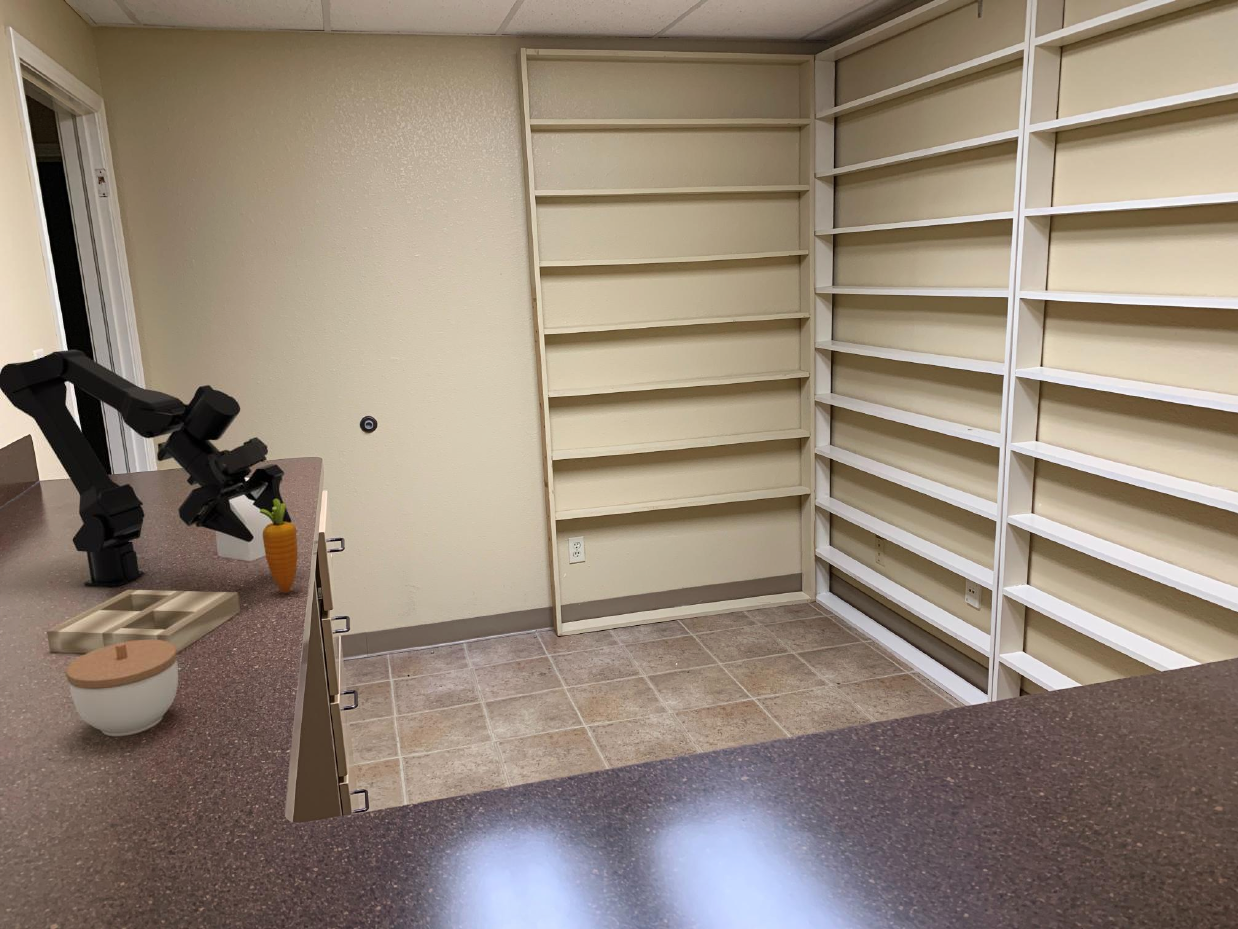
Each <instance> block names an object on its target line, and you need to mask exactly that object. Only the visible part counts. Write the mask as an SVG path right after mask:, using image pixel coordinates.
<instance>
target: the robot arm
mask: <svg viewBox="0 0 1238 929" xmlns="http://www.w3.org/2000/svg"><path fill="white" fill-rule="evenodd" d="M67 382H68V383H70V384H71V385H73V386H75V387H77V388H79V389H80V390H82V391H84V392H85V393H87V394H88V395H90V396H92V397H94V398H95V399H97V400H99V401H101V402H102V403H104V404H106V405H107V406H109V407H110V408H112V409H114V410H116V412H118V413H120V415H121V418H122V420H123V422H124V424H126V425H127V426H128V427H129V428H130V429H132V430H133V431H134V432H135V433H136V434H137V435H139V436H141V437H143V438H145V439H152V438H157V437H161V436H165V435H169V436H168V438H167V439H166V440H165V441H162V442H160V443H159V442H158V443H157V450H158V451H157V453H156V454H157V455H156V456H157V457H156V458H157V461H159V462H162V461H166V460H169V459H173V460H174V461H175V462H176V463H177V464H178V465H179V466H180V467H181V468H182V469H183V470H184V471H185V472H186V474H188V475H189V477H188V478H187V480H186V482H187V483H188V484H189V485H190V486H193V485H196V484H197V485H198V486H199V487H196V488H193V489H192V490H191V491H190V492H189V494H188V495H187V497H186V498H185V499H184V500H183V502H182V504H181V505H180V506H179V508H178V515H179V516H178V517H179V519H180V520H181V521H182V522H183V523H185V525H186V526H187V527H191V526H193V525H195V526H196V528H205V529H208V530H212V531H214V532H215V531H218V532H221V533H224V534H227V535H230V536H233V537H236V538H238V539H241V540H244V541H247V542H251V541H252V540H253V538H254V537H253V535H252V534H251V532H250V531H249V529H248V528H247V527H246V526H245V525H244V524H243V522H242V521H241V520H240V519H239V518H238V517H237V516H236V514H235V513H234V512H233V511H232V510H231V507H230V503H229V500H231V499H233V498H236V497H239V496H242V495H245V496H246V497H247V498H248V499H250V500H253V501H255V502H254V503H253V505H254V506H256V507H257V508H259V509H260V510H261V509H264V510H267V511H269V512H270V513H272V512H273V510H272V508H273V507H275V506H274V503H273V500H274V499H279V501H280V504H285V503H284V501H283V499H282V495H281V491H280V487H281V485H280V484H281V483H282V482H283V477H284V476H285V471H284V470H282V469H281V468H280V466H279V465H278V464H273V463H271V464H267V465H264V466H260V467H258V468H256V469H255V470H254V472H252V469H251V467H253V466H255V465H256V464H258V463H261V462H262V463H263V462H265V461H267V457H266V455H268V453H269V449H268V446H267V444H265V443H264V442H263V441H262V440H261V439H260V438H258V436H256V437H253V438H249V439H248V440H246V441H244V442H243V445H240V446H237V447H234V448H233V449H232V450H229V449H224V450H221V451H220V449H218V448H217V447H216V445H214V444H213V443H212V442H211V441H218V440H220V439H221V438H222V437H223V435H224V434H225V433H226V432H227V430H228V429H229V427H230V426H231V424H232V423H234V421H235V419H236V418H237V417H238V416H239V413H240V412H241V406H240V404H239V402H238V401H237V400H236V399H235V398H234V396H230V395H228V394H227V393H225V392H224V391H221V390H217V389H214V388H213V387H211V385H210V384H207V385H200V386H198V388H197V389H196V390H195V393H194V396H193V397H192V399H191V400H190V402H189V403H184V402H183V401H182V400H180V398H177V397H175V396H173V395H171V394H168V393H165V392H162V391H159V390H158V391H157V390H151V389H146V388H142V387H140V386H138V385H136V384H134V383H133V382H131V381H129V380H127V379H126V378H124V377H122V376H121V375H119V374H117V373H116V372H113V371H112V370H110V369H109V368H107V367H105V366H103V365H101V364H100V363H98V362H97V361H95V360H93V359H91V358H90V357H88V356H87V354H86V353H84V351H82V350H81V351H80V350H78V349H67V350H59V351H52V352H51V353H49V354H47V355H45V356H42V357H39V358H36V359H33V360H30V361H29V360H28V361H22V362H11V363H7V364H5V365H3V367H2V368H1V369H0V390H1V392H2V393H3V394H4V395H5V397H6V399H7V400H8V401H9V402H10V403H11V404H12V405H13V407H14V408H16V409H18V410H19V411H20V412H23V413H24V414H26V415H28V416H29V417H30V418H32V419H33V420H34V421H35V423H36V424H37V426H38V428H39V430H40V431H41V433H42V434H43V436H44V438H45V440H46V441H47V443H48V445H49V446H50V448H51V449H52V451H53V452H54V454H55V455H56V457H57V459H58V461H59V462H60V464H61V466H62V467H63V470H64V471H65V472H66V475H67V476H68V477H69V479H70V481H71V482H72V483H73V485H74V487H75V489H76V491H77V492H78V494H79V507H78V508H79V509H78V513H79V516H80V519H81V521H82V523H83V524H82V525H81V527H80V528H79V529H78V531H77V532H76V533H75V535H74V536H73V538H72V542H73V545H74V547H75V549H76V551H77V552H81V553H83V552H86V557H87V561H88V562H87V563H88V568H89V575H90V579H88V580H87V581H84V582H83V583H84V586H94V587H95V586H97V587H99V586H100V587H101V586H102V587H103V586H104V587H118V586H119V587H120V586H121V585H124V584H126V583H128V582H130V581H132V580H134V579H136V578H138V577H140V576H142V575H144V574H145V572H144V570H139V564H138V556H137V552H136V550H134V544H133V540H138V539H140V538H141V535H142V534H141V533H142V527H143V524H144V518H145V517H146V516H145V511H144V509H143V507H142V506H143V505H144V503H143V501H141V500H140V499H139V498H138V496H137V495H136V493H135V489H134V488H133V487H132V486H131V485H130V484H129V483H126V484H123V485H119V484H117V483H116V482H114V481H113V480H112V479H111V477H109V474H108V473H107V471H106V469H105V468H104V466H103V465H102V462H101V461H100V460H99V458H98V456H97V455H96V453H95V451H94V449H93V448H92V447H91V444H90V443H89V441H88V440H87V438H86V436H85V435H84V433H83V431H82V430H81V429H80V427H79V424H78V423H77V421H76V420H75V418H74V417H73V415H72V413H71V412H70V410H69V408H68V406H67V391H68V388H67V385H66V383H67ZM251 472H252V474H251ZM250 474H251V476H249V475H250ZM248 476H249V477H248ZM247 477H248V478H249V479H248V480H247V481H246V479H245V478H247ZM283 522H289V523H292V518H291V515H290V514H289V512H288V509H287V508H286V509H285V513H284V516H283Z"/></svg>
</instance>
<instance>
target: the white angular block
mask: <svg viewBox="0 0 1238 929" xmlns="http://www.w3.org/2000/svg"><path fill="white" fill-rule="evenodd" d="M249 478H250V477H245V479H246V481H247V480H248V479H249ZM254 502H255V501H253V500H250V499H248V498H247V497H246V496H245V495H242V496H239V497H236V498H233V499H231V500H229V503H230V507H231V510H232V511H233V512H234V513H235V514H236V516H237V517H238V518H239V519H240V520H241V521H242V522H243V524H244V525H245V526H246V527H247V528H248V529H249V531H250V532H251V534H252V535H253V537H254V538H253V540H252V541H251V542H247V541H244V540H241V539H238V538H236V537H233V536H230V535H227V534H224V533H221V532H218V531H215V530H214V533H215V541H216V546H217V547H216V548H217V554H218V557H222V558H227V559H228V558H229V559H234V560H240V561H247V562H253V561H254V560H257V559H260V558H262V557H266V553H265V548H264V541H263V530H264V529H265V527H266V526H267V525H269V524H271V523H273V522H272V521H271V519H270V518H269V517H268V516H266V515H265V514H262V513H260V509H259V508H257V507H256V506H254V505H253V503H254Z"/></svg>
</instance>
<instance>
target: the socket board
mask: <svg viewBox="0 0 1238 929" xmlns="http://www.w3.org/2000/svg"><path fill="white" fill-rule="evenodd" d="M240 606H241V605H240V600H239V592H237V591H236V592H232V591H197V590H196V591H195V590H193V591H192V590H191V591H190V590H189V591H188V590H187V591H186V590H158V589H156V590H154V589H153V590H151V589H148V590H147V589H127V590H125V591H122V592H121V593H119V594H117V595H115V596H113V597H111V598H109V599H107V600H105V601H103V602H101V603H99V604H97V605H95V606H94V607H90V608H89V609H88V610H85V611H83V612H82V613H80V614H78V615H76V616H74V617H72V618H69V619H68V620H66V621H64V622H61V623H60V624H58V625H56V626H54V627H52V628H50V629H47V630H46V636H47V641H48V646H49V652H50V653H68V654H87V653H89V652H92V651H94V650H97V649H100V648H103V647H106V646H109V645H113V644H118V643H122V642H128V641H136V640H162V641H167V642H170V643H172V644H173V645H174V646H175V647H176V650H177V654H178V653H180V652H181V651H184V649H186V648H188V647H189V646H190V645H192V644H193V643H195V642H196V641H198V640H200V639H201V638H202V637H204V636H206V635H207V634H209V633H210V632H212V631H213V630H215V629H216V628H218V627H219V626H221V625H223V624H224V623H225V622H226V621H229V620H230V619H231V618H233V617H234V616H236V615H237V614H239V613H240V612H241V607H240Z"/></svg>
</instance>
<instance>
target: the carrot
mask: <svg viewBox="0 0 1238 929" xmlns="http://www.w3.org/2000/svg"><path fill="white" fill-rule="evenodd" d="M273 503H274V506H275V507H273V508H272V510H273V512H272V513H270V512H269V511H267V510H264V509H261V510H260V513H262V514H265V515H266V516H268V517H269V518H270V519H271V521H272V522H273V523H271V524H269V525H267V526H266V527H265V529H264V530H263V541H264V548H265V553H266V556H265V558H266V562H267V564H268V568H269V571H270V574H271V575H272V576H271V577H272V578H273V580H274V582H275V584H276V585H277V586H278V588H279V589H280V591H281V592H283V593H284V594H285V595H286V594H288V593H289V592H290V591H291V589H292V586H293V583H294V580H295V577H296V572H297V565H298V537H297V529H296V525H295V524H293V523H292V522H291V523H289V522H283V516H284V513H285V509H287V504H285V503H284V504H280V501H279V499H274V500H273Z"/></svg>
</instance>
